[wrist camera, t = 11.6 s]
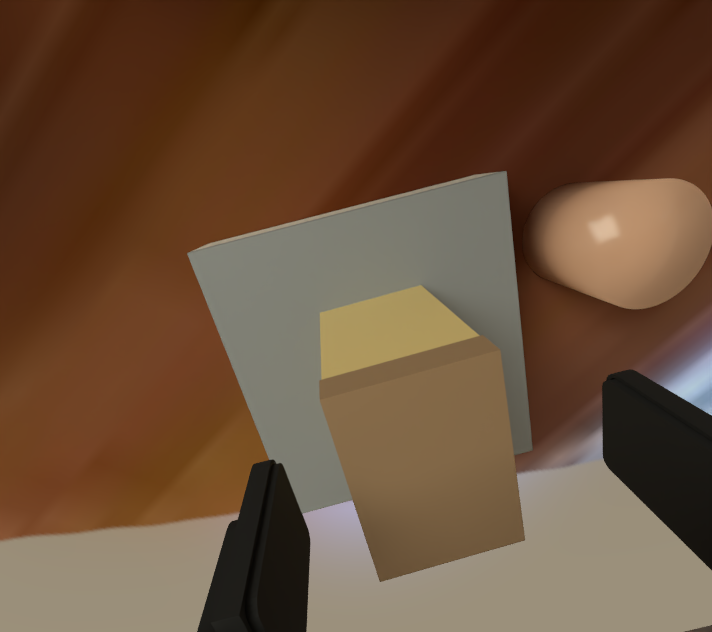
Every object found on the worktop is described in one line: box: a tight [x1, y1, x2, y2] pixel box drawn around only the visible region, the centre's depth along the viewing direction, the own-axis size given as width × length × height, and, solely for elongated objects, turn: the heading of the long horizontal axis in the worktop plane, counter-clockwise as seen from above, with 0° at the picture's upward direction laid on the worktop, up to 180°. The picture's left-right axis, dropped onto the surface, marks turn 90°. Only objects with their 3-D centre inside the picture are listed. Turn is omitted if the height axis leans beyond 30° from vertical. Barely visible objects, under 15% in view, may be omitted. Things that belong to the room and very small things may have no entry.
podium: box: [187, 171, 533, 514], centre depth 18 cm, size 13×14×3 cm
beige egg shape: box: [522, 178, 712, 309], centre depth 16 cm, size 5×5×5 cm
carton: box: [319, 285, 525, 582], centre depth 13 cm, size 5×7×7 cm
